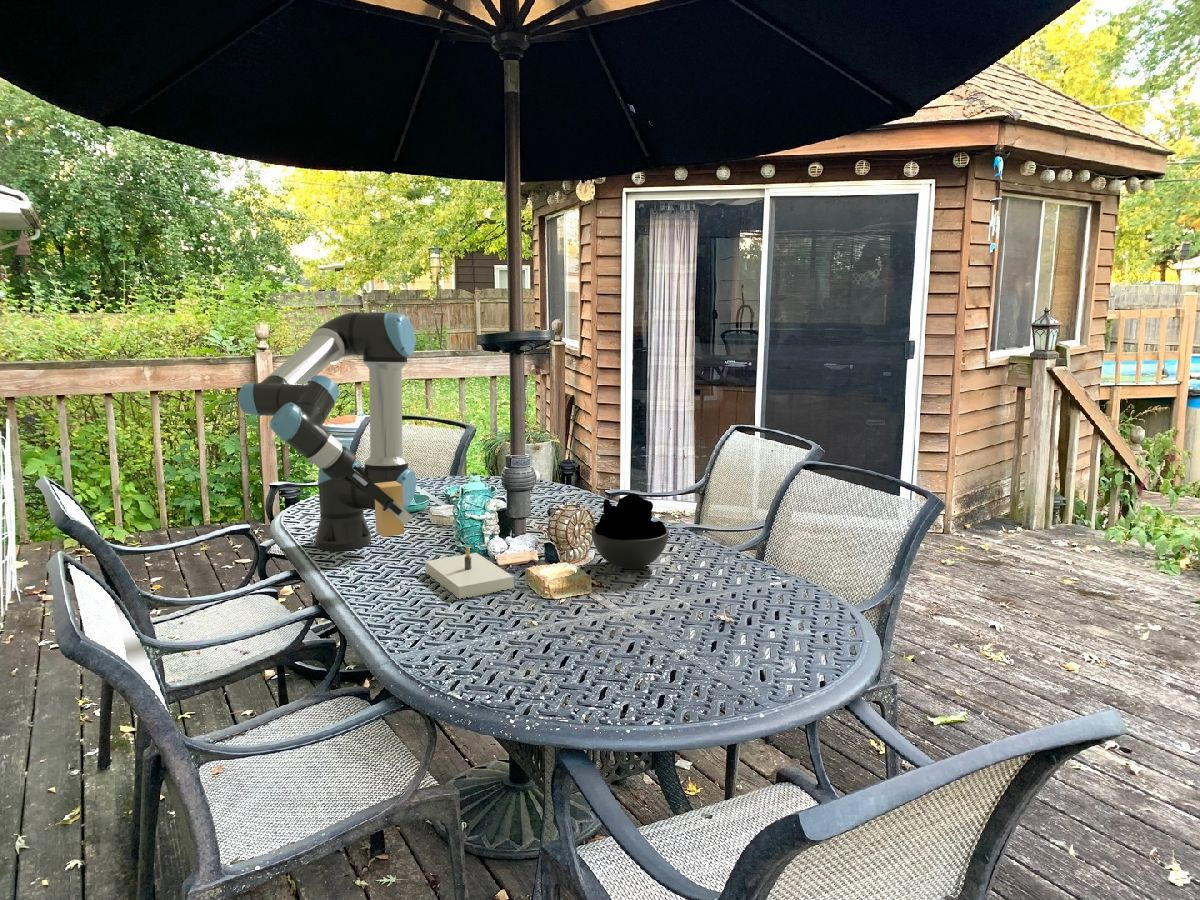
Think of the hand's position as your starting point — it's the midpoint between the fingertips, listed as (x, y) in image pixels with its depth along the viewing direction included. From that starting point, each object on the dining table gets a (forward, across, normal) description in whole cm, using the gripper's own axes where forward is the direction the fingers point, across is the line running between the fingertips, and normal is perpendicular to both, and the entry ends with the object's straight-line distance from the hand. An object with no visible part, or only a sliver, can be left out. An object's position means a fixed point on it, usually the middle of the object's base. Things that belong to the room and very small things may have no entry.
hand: (404, 517), depth 200 cm
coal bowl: (+49, +19, +26) cm, 59 cm away
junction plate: (+21, +7, -2) cm, 22 cm away
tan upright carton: (0, 0, -5) cm, 5 cm away
